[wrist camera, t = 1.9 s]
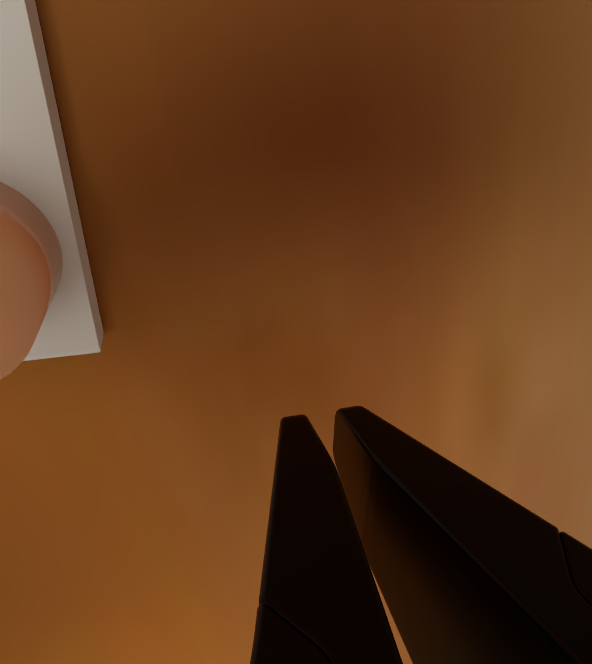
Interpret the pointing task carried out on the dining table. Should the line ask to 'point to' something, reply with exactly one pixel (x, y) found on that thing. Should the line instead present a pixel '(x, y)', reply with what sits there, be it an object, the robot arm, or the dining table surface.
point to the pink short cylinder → (24, 275)
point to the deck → (44, 179)
